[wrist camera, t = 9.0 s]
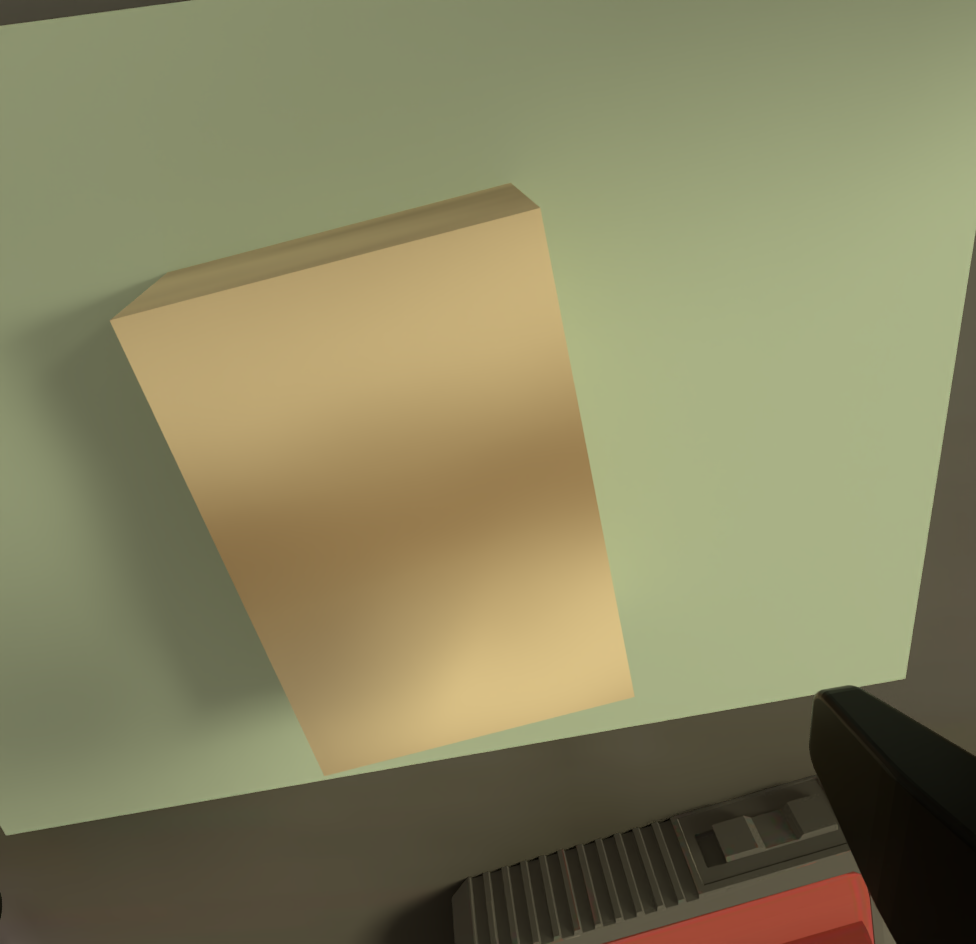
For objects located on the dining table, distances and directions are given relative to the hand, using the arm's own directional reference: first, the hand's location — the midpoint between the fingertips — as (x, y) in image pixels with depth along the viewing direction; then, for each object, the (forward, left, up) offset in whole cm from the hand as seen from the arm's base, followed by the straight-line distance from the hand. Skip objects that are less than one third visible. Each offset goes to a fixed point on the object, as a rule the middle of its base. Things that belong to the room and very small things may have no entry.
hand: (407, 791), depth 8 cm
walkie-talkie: (-8, +16, -9) cm, 20 cm away
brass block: (0, 0, -8) cm, 8 cm away
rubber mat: (0, 0, -8) cm, 8 cm away
